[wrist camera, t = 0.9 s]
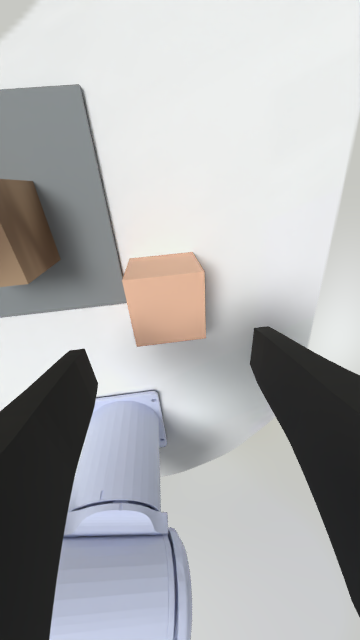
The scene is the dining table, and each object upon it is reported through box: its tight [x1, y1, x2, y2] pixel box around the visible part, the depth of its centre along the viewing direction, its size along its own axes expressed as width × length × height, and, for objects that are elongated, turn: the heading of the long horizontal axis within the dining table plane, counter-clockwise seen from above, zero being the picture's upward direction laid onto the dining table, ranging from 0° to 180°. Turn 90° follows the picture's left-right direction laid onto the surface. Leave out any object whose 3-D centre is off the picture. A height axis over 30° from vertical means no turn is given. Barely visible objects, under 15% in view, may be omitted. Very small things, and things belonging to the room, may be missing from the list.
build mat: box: [0, 84, 127, 317], centre depth 14 cm, size 12×12×1 cm
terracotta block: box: [122, 252, 206, 347], centre depth 15 cm, size 4×4×4 cm
